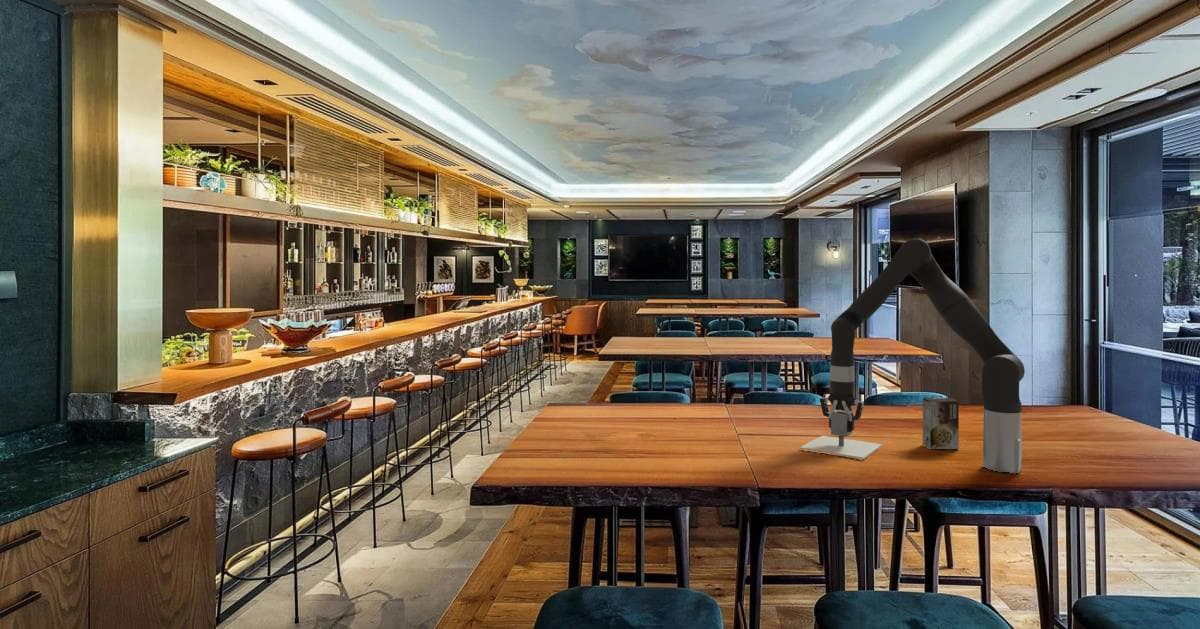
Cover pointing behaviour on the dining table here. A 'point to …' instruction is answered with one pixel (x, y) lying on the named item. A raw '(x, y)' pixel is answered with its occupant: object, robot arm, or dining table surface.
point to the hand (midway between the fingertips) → (841, 430)
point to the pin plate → (842, 446)
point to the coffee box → (941, 423)
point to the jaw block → (839, 424)
